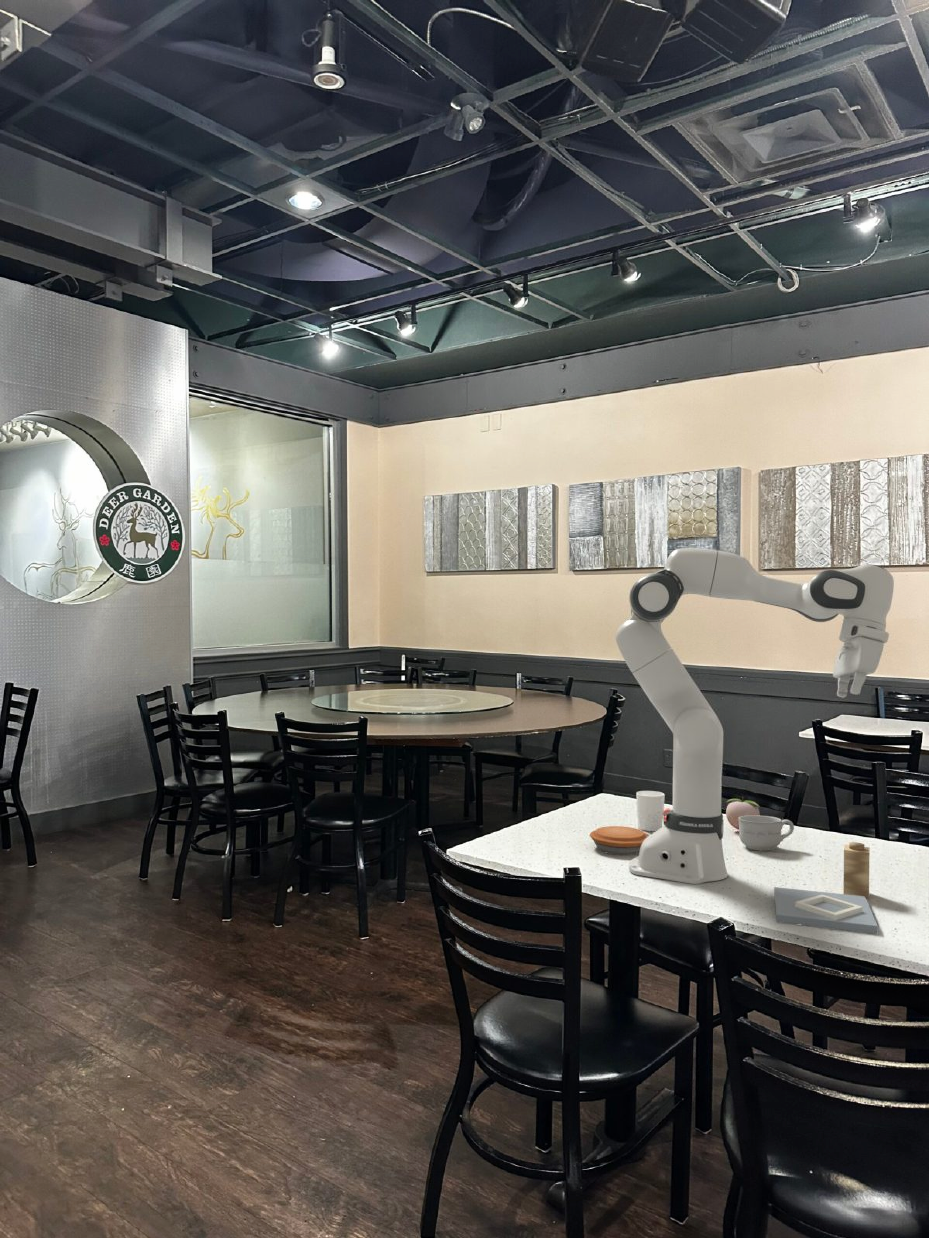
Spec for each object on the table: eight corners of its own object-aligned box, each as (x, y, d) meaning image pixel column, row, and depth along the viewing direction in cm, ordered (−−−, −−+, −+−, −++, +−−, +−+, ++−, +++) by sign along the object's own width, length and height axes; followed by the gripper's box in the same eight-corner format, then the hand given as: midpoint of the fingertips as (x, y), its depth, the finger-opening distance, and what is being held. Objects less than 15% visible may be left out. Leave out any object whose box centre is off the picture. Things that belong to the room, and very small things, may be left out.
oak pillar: (843, 896, 184) (843, 845, 184) (844, 889, 189) (844, 840, 189) (869, 899, 182) (869, 848, 182) (869, 892, 186) (869, 842, 186)
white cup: (644, 823, 248) (644, 789, 248) (669, 828, 243) (669, 793, 243) (631, 828, 242) (631, 793, 242) (656, 833, 237) (656, 797, 237)
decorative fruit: (723, 833, 238) (723, 797, 238) (727, 827, 245) (727, 792, 245) (758, 837, 234) (758, 801, 234) (761, 830, 241) (761, 795, 241)
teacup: (739, 852, 219) (740, 820, 219) (736, 841, 229) (736, 811, 229) (797, 856, 215) (797, 824, 215) (791, 845, 226) (791, 815, 226)
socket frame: (795, 906, 172) (795, 901, 172) (821, 899, 177) (821, 894, 177) (835, 920, 165) (835, 914, 165) (862, 911, 170) (862, 906, 170)
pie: (577, 848, 221) (577, 829, 221) (612, 838, 231) (612, 820, 231) (627, 861, 210) (627, 841, 210) (662, 849, 220) (662, 830, 220)
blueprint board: (776, 922, 167) (776, 914, 167) (774, 893, 185) (774, 886, 185) (877, 933, 162) (877, 925, 162) (864, 903, 179) (865, 896, 179)
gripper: (833, 638, 202) (820, 694, 201) (861, 625, 182) (847, 687, 181) (860, 645, 201) (847, 702, 200) (892, 633, 181) (877, 695, 180)
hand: (847, 695), depth 190 cm, fingers open, 8 cm apart
